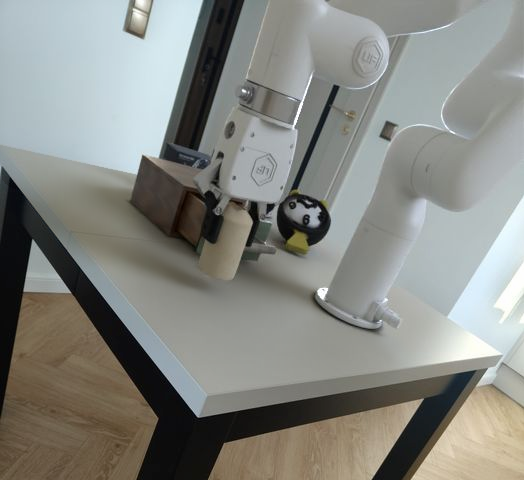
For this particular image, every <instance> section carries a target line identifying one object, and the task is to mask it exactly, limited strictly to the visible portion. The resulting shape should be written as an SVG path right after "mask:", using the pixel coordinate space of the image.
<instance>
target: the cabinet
mask: <svg viewBox="0 0 524 480" xmlns="http://www.w3.org/2000/svg"><path fill="white" fill-rule="evenodd" d="M201 171H202V169H198V168H194V167H191V166H187V165H183V164H179V163H175V162H171V161H167V160H163V159H162V158H158V157H155V156H151V155H148V154H144V153H143V154H141V159H140V163H139V166H138V169H137V174H136V177H135V181H134V185H133V189H132V193H131V195H130V197H131V198H130V203H131V204H133V206H134V207H136V208H137V209H138V210H139V211H141V212H142V213H143V214H144V215H145V216H146V217H147V218H148V219H149V220H150V221H152V223H154V224H155V225H156V226H157V227H158V228H159V229H161V231H163V232H164V233H165V234H166V235H167V236H168V237H173V238H181V239H186V238H185V237H184V236H183V235H182V234H181V233H179V232H178V231H177V230H176V229H175V227H176V224H177V221H178V217H179V214H180V211H181V208H182V204H183V201H184V198H185V195H186V191H190V192H195V193H199V194H200V192H199V190H198V189H197V187H196V185H195V183H194V181H193V179H194V177H195V176H196V175H197V174H199V173H200V172H201ZM213 187H214V185H212V184H211V183H210V188H211V190H212V188H213ZM221 195H222V194H220V196H221ZM220 196H219V197H218V198H220ZM230 200H232V201H236V202H238V203H239V204H241V205H242V206H244V207H245V208H246V205H247V203H248V200H244V199H238V198H233V197H231V199H230Z"/></svg>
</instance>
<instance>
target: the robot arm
mask: <svg viewBox="0 0 524 480" xmlns="http://www.w3.org/2000/svg"><path fill="white" fill-rule="evenodd" d="M488 1H489V0H328V1H326V0H268V2H267V5H266V9H265V13H264V15H263V18H262V22H261V26H260V30H259V32H258V35H257V39H256V43H255V46H254V48H253V53H252V56H251V60H250V62H249V67H248V69H247V73H246V75H245V79H244V83H243V85H241V84H238V85H237V86H236V87H235V90H234V95H235V97H236V98H239V99H238V103H237V106H233V107H232V109H231V111H230V113H229V115H228V117H227V119H226V120H225V123H224V125H223V128H222V130H221V132H220V135H219V138H218V139H217V142H216V144H215V147H214V149H215V150H214V149H213V150H214V153H213V152H212V153H213V157H212V160H211V163H210V165H208V166H207V167H206V168H205V169H204V170H202V171H201V172H200V173H199V174H197V175H196V176H195V177H194V179H193V181H194V183H195V185H196V187H197V189H198V190H199V192H200V195H201V197H202V199H203V201H204V206H205V207H206V208H207V210H206V213H205V216H204V220H203V223H202V227H201V232H200V235H201V236H202V237H203V238H204V239H206V240H207V241H208V242H209V243H211V244H215V243H216V242H217V239H218V236H219V232H220V229H221V226H222V223H223V220H224V216H222V215H221V213H222V212H223V210H224V208H225V207H226V205H227V204H228V202H229V200H230V199H231V197H233V198H238V199H244V200H247V209H248V214H249V215H250V217H251V219H252V221H253V224H252V227H251V230H250V233H249V236H248V239H247V242H246V244H245V246H246V247H251V246H252V243H253V240H254V237H255V234H256V231H257V229H258V226H259V223H260V221H263V220H266V218H267V217H266V215H267V214H268V213H269V212H271V211H272V210H273V209H274V210H275V208H274V207H277V206H279V204H280V203H281V202H283V201H284V200H285V198H286V194H285V187H286V184H287V180H288V178H289V174H290V171H291V167H292V164H293V160H294V156H295V151H296V145H297V141H298V140H297V139H298V129H297V128H295V125H296V123H297V120H298V117H299V114H300V112H301V109H302V106H303V104H304V103H303V102H304V100H305V97H306V95H307V93H308V92H307V91H308V89H309V87H310V83H311V80H312V78H316V79H319V80H323V81H325V82H328V83H330V84H332V85H335V86H338V87H341V88H345V89H348V90H360V89H365V88H367V87H370V86H372V85H373V84H375V83H376V82H377V81H378V80H379V79H380V78H381V77H382V76H383V74H384V73H385V71H386V70H387V67H388V65H389V60H390V44H389V40H388V39H389V38H393V37H396V36H397V37H398V36H403V35H404V36H405V35H413V34H414V35H415V34H423V33H427V32H433V31H435V30H440V29H444V28H446V27H450V26H451V25H453V24H455V23H457V22H458V21H459V20H461V19H462V18H464V17H465V16H467V15H468V14H470V13H472V11H474V10H476V9H477V8H479V7H480V6H482V5H484V4H485V3H487V2H488ZM441 121H442V123H443V125H444V127H445V128H446V129H447V130H448V131H447V130H445V129H442V128H440V127H437V126H433V125H429V124H422V123H421V124H419V123H418V124H412V125H409V126H407V127H404V128H403V129H401V130H400V131H398V132H396V134H395V135H394V137H392V139H391V140H390V142H389V143H388V145H387V148H386V150H385V153H384V156H383V159H382V163H381V167H380V171H379V174H378V176H377V177H378V178H377V181H376V184H375V187H374V189H373V191H372V194H371V197H370V199H369V201H368V203H367V205H366V208H365V209H364V212H363V214H362V216H361V218H360V220H359V222H358V224H357V226H356V228H355V231H354V233H353V235H352V237H351V239H350V241H349V243H348V245H347V247H346V249H345V252H344V254H343V256H342V258H341V260H340V262H339V264H338V267H337V269H336V271H335V273H334V275H333V277H332V279H331V281H330V284H329V285H328V287H321V288H318V289H317V290H316V292H315V295H314V297H315V300H316V302H317V303H318V304H319V306H320V307H321V308H323V309H324V310H325V311H327V312H328V313H329V314H331V315H332V316H334V317H336V318H338V319H339V320H341V321H343V322H346V323H348V324H351V325H353V326H357V327H359V328H364V329H369V330H375V329H379V328H381V326H382V324H383V322H384V323H386V324H387V325H388V326H389V327H392V328H394V329H395V330H397V329H399V327H400V326H401V324H402V322H403V318H401V317H399V316H400V314H399V313H397V312H395V311H392V310H391V309H389V307H388V306H387V304H388V302H389V299H388V298H387V295H388V294H389V292H390V290H391V288H392V286H393V284H394V282H395V281H396V279H397V276H398V275H399V273H400V271H401V269H402V267H403V265H404V263H405V262H406V259H407V258H408V256H409V254H410V252H411V250H412V248H413V246H414V245H415V243H416V241H417V240H418V237H419V236H420V233H421V231H422V229H423V227H424V223H425V220H426V219H425V218H426V212H427V201H428V202H429V203H432V204H434V205H435V206H437V207H440V208H441V209H443V210H446V211H448V212H452V213H462V212H466V211H468V210H471V209H473V208H475V207H476V206H477V205H479V204H481V202H482V201H484V200H485V199H486V198H487V197H488V196H489V195H490V194H491V193H493V192H494V191H495V190H496V189H497V188H498V187H499V185H501V184H502V183H503V182H504V181H505V180H506V179H507V178H508V177H510V175H511V174H512V173H514V171H515V170H516V169H517V168H518V167H519V166H520V165H521V164H522V163H523V162H524V0H512V5H511V12H510V16H509V20H508V23H507V27H506V29H505V31H504V33H503V35H502V36H501V38H500V39H499V41H498V42H497V43H496V44H495V45H494V46H493V47H492V49H490V51H488V52H487V54H486V55H485V56H484V57H483V58H482V59H481V60H480V61H479V62H478V63H477V64H476V65H475V66H474V67H473V68H472V69H471V70H470V71H469V73H467V74H466V76H465V77H463V78H462V80H461V81H459V83H457V84H456V86H455V87H453V89H452V90H451V92H450V93H449V94H448V96H447V97H446V99H445V101H444V102H443V104H442V107H441ZM210 183H211V184H212V185H214V187H213V188H212V190H211V188H210ZM220 194H222V195H221V196H220ZM219 196H220V198H219V200H218V201H217V199H218V197H219ZM257 203H258V204H257ZM274 210H273V211H274Z"/></svg>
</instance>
